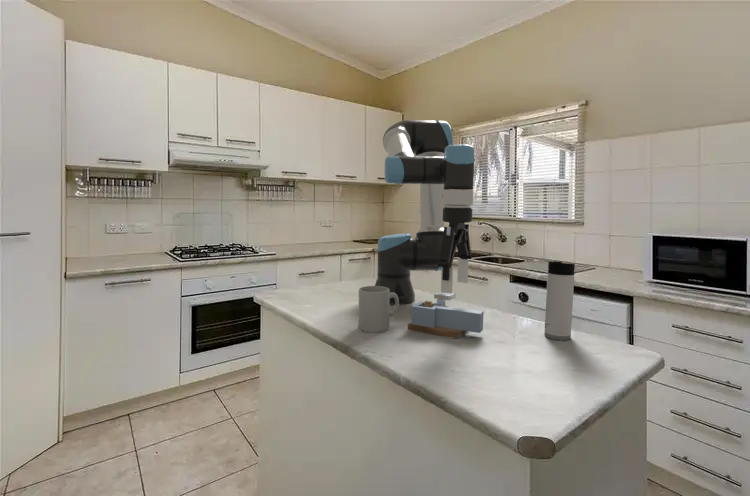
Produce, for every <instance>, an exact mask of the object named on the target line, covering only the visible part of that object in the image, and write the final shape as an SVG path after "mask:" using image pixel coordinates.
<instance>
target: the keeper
mask: <svg viewBox="0 0 750 496" xmlns="http://www.w3.org/2000/svg"><path fill="white" fill-rule="evenodd" d="M433 298H434V299H435V300H436V303H437V304H442V306H446V301H451V300H454V299H456V292H455V293H454V292H452V293H443V292H441V290H440V291H438V292H435V293H434V294H433Z"/></svg>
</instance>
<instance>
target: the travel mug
mask: <svg viewBox="0 0 750 496" xmlns="http://www.w3.org/2000/svg"><path fill="white" fill-rule="evenodd" d="M575 266H576V264H575V263H570V262H569V263H568V262H567V263H566V262H565V263H564V262H562V261H556V260H555V261H548V264H547V267H548V268H547V277H546V279H547V280H546V281H547V282H546V297H545V319H544V334H543V335H544V337H546V338H547V339H550V340H554V341H555V340H556V341H569V340H570V339H571V337H572V321H573V307H574V306H573V305H574V304H573V303H574V287H575V269H576V267H575Z"/></svg>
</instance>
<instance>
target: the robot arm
mask: <svg viewBox="0 0 750 496" xmlns="http://www.w3.org/2000/svg"><path fill="white" fill-rule="evenodd" d="M453 137H454V136H453V131H452V128H451V125H450V124H449V122H447V121H445V120H438V119H434V120H429V119H428V120H427V119H426V120H424V119H422V120H417V119H416V120H415V119H412V120H411V119H407V120H401V121H398V122H395V123H394V124H392V125H391V126H390V127H388V128H387V129H386V130H385V132H384V133H383V137H382V146H383V148H384V150H385V152H386V153H387V154H388V156H386V157H385V159H384V181H385V182H386V184H395V185H419V189H420V190H419V192H420V193H419V195H420V196H419V197H420V199H419V201H420V203H419V206H420V207H419V208H420V209H419V211H420V214H419V216H420V227H419V229H418V230H417V231H416V237H412V234H411V233H409V232H407V233H395V234H394V233H393V234H388V235H384V236H381V237H379V238H378V240H377V249H376V252H377V270H376V271H377V273H376V274H377V277H376V282H375V285H374V286H382V287H387V288H389V290H390V292H392V293H396V294H397V296H398V299H399V305H406V304H411V303H413V302H415V300H416V297H415V296H416V294H415V291H414V286H413V284H412V281H411V280H412V279H411V271H426V272H427V271H429V272H430V271H435V272H438V271H441V273H440V274H441V276H440V277H441V281H440V291H441V292H443V293H453V283H454V282H453V281H454V277H453V276H454V266H453V262H454V259H455V255H456V251H457V253H458V257H459V258H458V259H457V276H456V277H457V279H456V280H457V281H456V282H457V283H463V284H468V280H469V279H468V275H469V260H472V258H473V257H472V251H471V241H470V230H469V227H470V225H469V223H471V222H472V221H473V208H472V207H471V206H473V205H474V180H475V179H474V177H475V176H474V175H475V161H476V158H475V148H474V146H472V145H470V144H453V143H454V138H453ZM414 154H415V155H414ZM446 223H448V226H446ZM389 305H395V299H394V298H390V303H389Z"/></svg>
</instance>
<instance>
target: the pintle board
mask: <svg viewBox="0 0 750 496" xmlns="http://www.w3.org/2000/svg"><path fill="white" fill-rule="evenodd" d="M424 302H425V303H424V307H430V308H432V303H433V302H432V300H424ZM407 330H410V331H414V332H419V333H424V334H430V335H435V336H440V337H446V338H449V339H455V340H456V339H458V338H460V337H461V336H463V335H465V334H466V333H467V332H468V331H463V330H457V329H450V328H444V327H438V326H435V327H434V328H432V327H426V326H419V325H413V324H411V322H409V323H408V324H407Z"/></svg>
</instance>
